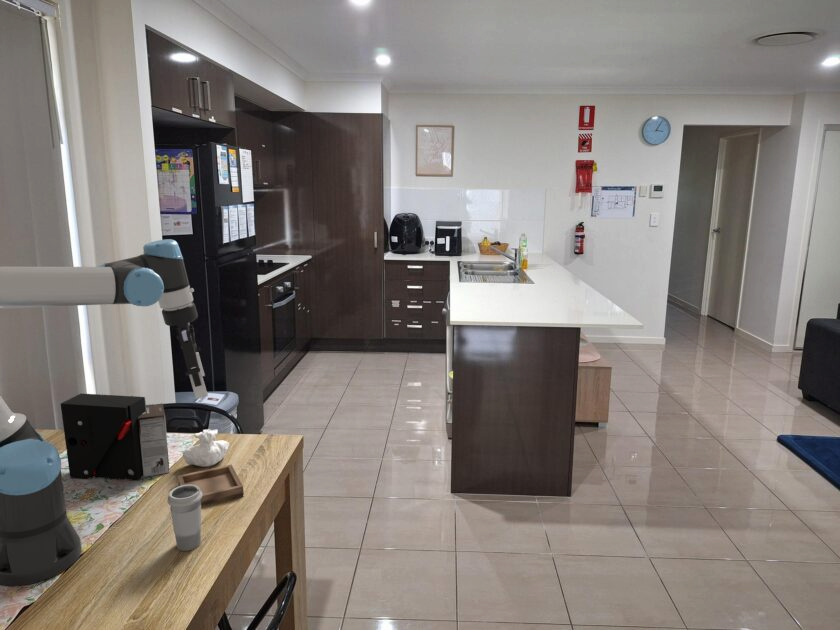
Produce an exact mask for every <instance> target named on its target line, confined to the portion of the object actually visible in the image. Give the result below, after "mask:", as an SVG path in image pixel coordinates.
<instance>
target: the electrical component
mask: <svg viewBox="0 0 840 630" xmlns="http://www.w3.org/2000/svg"><path fill="white" fill-rule="evenodd" d="M146 402H147V401H146V397H145V396H136V395H135V396H133V395H118V394H117V395H115V394H100V393H99V394H95V393H79V394H77V395H75V396H73V397H70V398H68V399H66V400H65V401H62V402H61V403H60V409H61V410H60V411H61V418H62V425H63V434H64V441H65V449H66V450H65V451H66V455H67V457H66V459H67V465H68V470H69V472H68V473H69V478H70V479H80V480H89V479H90V478H94V479H95V478H96V479H97V478H98V479H110V480H112V479H113V480H123V481H135V482H136V481H138V482H139V480H141V478H143V477H144V475H143V466H142V456H141V445H140V435H139V424H138V417H139V416H140V415H141V414H143V413H144V412H146V405H147V403H146Z"/></svg>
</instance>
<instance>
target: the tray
mask: <svg viewBox="0 0 840 630" xmlns="http://www.w3.org/2000/svg"><path fill="white" fill-rule="evenodd" d="M187 484H192V485H196V486H198V487H199V488H200V490H201V492H202V494H203V495H202V498H201V499H200V501H201V507H203V506H208V505H212V504H216V502H217V503H221V502H224V501H229V500H233V499H236V498H237V497H238V498H241V497H240V496H242V497H244V496H245V495H244V493H245V492H244V485H243V483H242V482H241V479H240V477H239V476H238V474H237V472H236V470H235V468H234V467H233V465H232V464H228V465H224V466H218V467H213V468H209V469H208V468H207V469H204V470H199V471H195V472H189V473H185V474H179V475H177V487H178V486H181V485H187ZM243 495H244V496H243Z"/></svg>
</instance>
